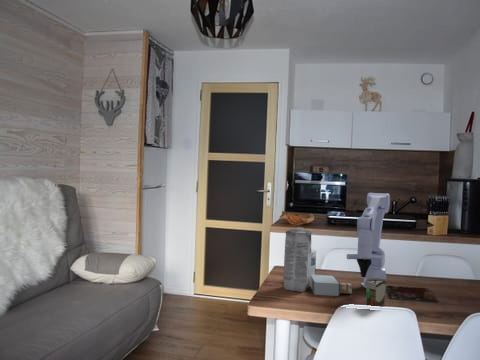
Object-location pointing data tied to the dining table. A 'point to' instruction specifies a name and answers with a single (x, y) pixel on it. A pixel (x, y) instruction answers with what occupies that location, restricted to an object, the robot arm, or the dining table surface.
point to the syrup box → (313, 263)
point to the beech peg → (345, 288)
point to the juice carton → (297, 260)
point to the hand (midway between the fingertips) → (363, 276)
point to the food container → (375, 291)
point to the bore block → (325, 285)
